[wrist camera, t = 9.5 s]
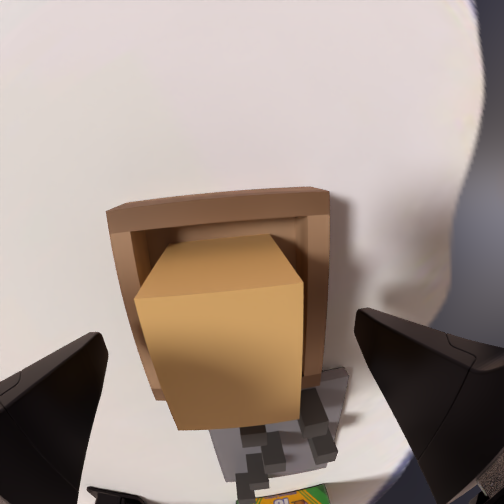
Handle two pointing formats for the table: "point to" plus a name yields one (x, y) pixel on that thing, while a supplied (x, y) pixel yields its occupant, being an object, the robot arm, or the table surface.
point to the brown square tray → (222, 226)
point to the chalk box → (298, 497)
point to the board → (284, 440)
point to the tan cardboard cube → (225, 332)
